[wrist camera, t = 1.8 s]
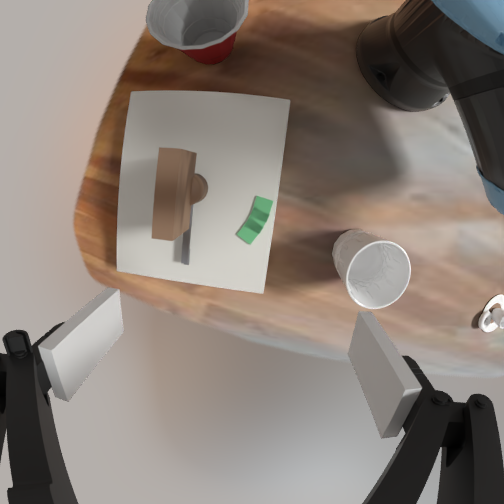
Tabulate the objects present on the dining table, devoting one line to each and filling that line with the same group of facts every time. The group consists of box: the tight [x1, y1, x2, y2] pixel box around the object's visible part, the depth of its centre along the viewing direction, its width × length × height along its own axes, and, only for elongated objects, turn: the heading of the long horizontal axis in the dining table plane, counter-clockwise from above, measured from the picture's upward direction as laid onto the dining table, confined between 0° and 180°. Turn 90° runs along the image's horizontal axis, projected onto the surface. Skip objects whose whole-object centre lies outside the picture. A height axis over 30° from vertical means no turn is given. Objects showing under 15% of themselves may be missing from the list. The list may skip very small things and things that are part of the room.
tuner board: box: [117, 90, 290, 294], centre depth 36 cm, size 24×20×4 cm
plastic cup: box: [146, 0, 249, 64], centre depth 27 cm, size 11×11×12 cm
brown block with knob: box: [152, 147, 208, 264], centre depth 30 cm, size 13×4×10 cm, turn 173°
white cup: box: [332, 229, 411, 309], centre depth 35 cm, size 8×8×10 cm
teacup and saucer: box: [478, 295, 504, 332], centre depth 40 cm, size 9×8×4 cm
